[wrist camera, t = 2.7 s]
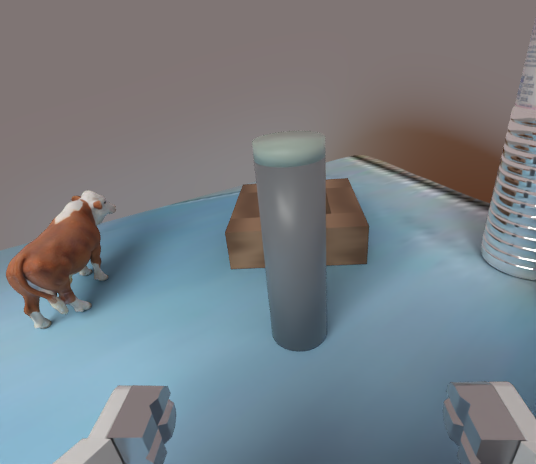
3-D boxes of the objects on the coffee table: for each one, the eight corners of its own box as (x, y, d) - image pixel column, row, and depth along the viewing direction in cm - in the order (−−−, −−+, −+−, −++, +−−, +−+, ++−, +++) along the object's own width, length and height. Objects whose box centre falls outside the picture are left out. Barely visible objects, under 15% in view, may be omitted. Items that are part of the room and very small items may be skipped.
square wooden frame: (230, 268, 33) (225, 232, 31) (246, 213, 45) (243, 184, 43) (366, 263, 32) (369, 226, 30) (347, 208, 43) (347, 178, 42)
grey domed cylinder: (270, 351, 23) (248, 150, 17) (273, 312, 27) (255, 133, 21) (329, 351, 23) (328, 144, 17) (324, 311, 27) (322, 128, 20)
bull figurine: (137, 251, 38) (115, 182, 34) (68, 341, 26) (24, 250, 22) (99, 253, 38) (74, 185, 35) (15, 342, 27) (-37, 253, 23)
